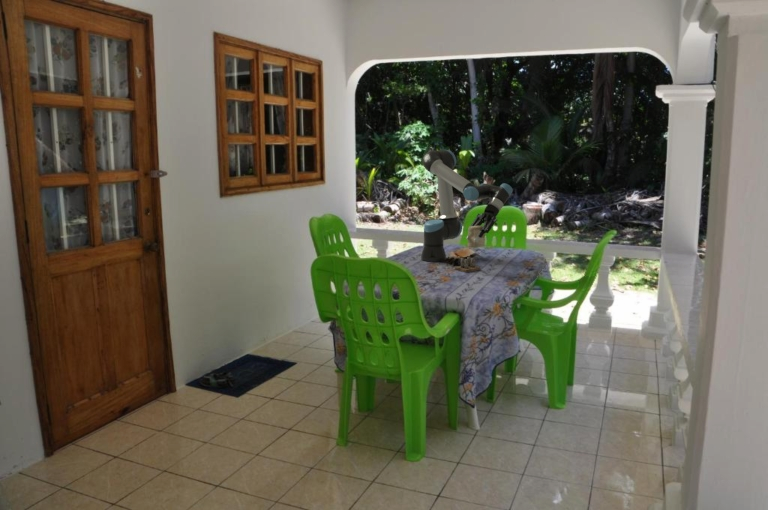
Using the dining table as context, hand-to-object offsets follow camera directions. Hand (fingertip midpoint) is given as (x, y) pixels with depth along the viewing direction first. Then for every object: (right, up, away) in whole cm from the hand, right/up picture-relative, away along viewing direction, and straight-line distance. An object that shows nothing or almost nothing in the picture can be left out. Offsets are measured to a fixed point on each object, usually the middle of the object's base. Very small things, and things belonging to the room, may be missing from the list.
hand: (471, 240), depth 340 cm
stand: (-1, -16, +8) cm, 18 cm away
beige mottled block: (+3, -3, +3) cm, 5 cm away
